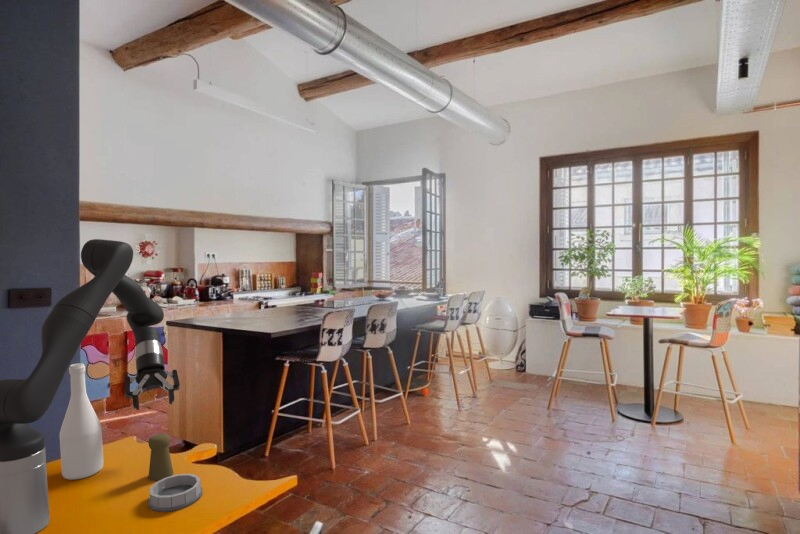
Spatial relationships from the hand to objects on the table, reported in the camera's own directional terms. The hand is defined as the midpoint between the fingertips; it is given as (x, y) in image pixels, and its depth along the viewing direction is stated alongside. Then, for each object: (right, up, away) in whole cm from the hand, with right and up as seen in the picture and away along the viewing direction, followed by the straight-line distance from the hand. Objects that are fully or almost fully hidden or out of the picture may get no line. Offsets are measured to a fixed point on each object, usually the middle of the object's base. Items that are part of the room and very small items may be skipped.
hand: (154, 405), depth 137 cm
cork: (+6, -16, -9) cm, 20 cm away
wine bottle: (-16, -17, -7) cm, 24 cm away
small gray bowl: (+16, -17, -21) cm, 31 cm away
